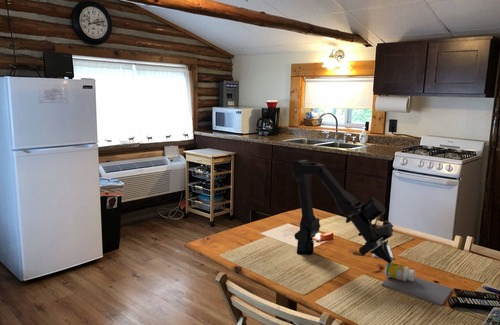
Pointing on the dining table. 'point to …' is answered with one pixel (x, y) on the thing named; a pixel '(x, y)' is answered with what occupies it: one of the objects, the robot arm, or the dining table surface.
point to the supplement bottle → (399, 272)
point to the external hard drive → (389, 253)
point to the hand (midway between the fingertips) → (390, 262)
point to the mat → (420, 289)
